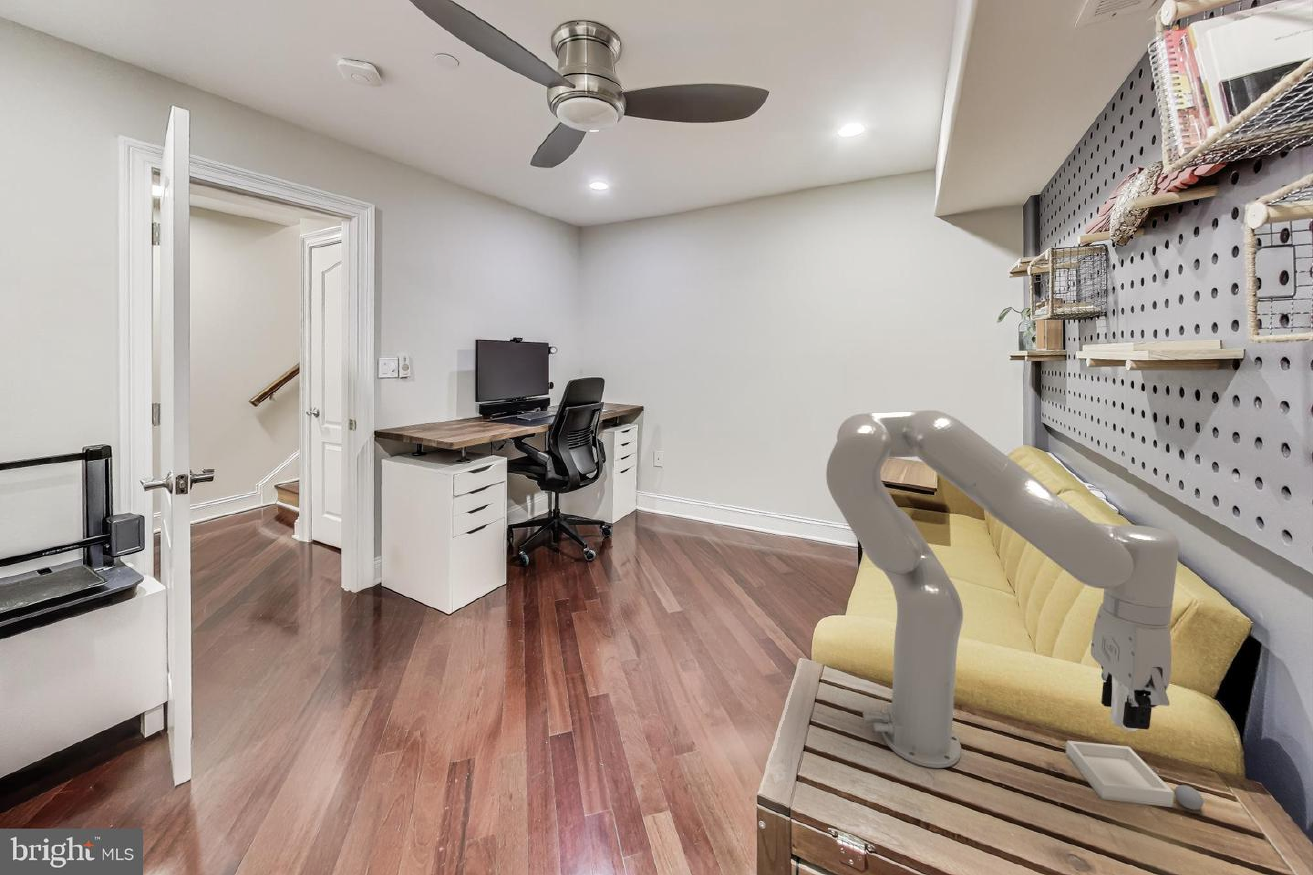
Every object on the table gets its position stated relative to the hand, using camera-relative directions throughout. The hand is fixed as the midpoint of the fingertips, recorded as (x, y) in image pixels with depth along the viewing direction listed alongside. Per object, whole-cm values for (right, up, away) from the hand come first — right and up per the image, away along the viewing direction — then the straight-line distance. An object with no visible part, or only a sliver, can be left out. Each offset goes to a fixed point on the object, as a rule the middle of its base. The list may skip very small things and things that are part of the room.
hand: (1124, 715), depth 79 cm
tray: (0, -11, +2) cm, 11 cm away
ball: (+6, -12, -3) cm, 14 cm away
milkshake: (0, -2, 0) cm, 2 cm away
